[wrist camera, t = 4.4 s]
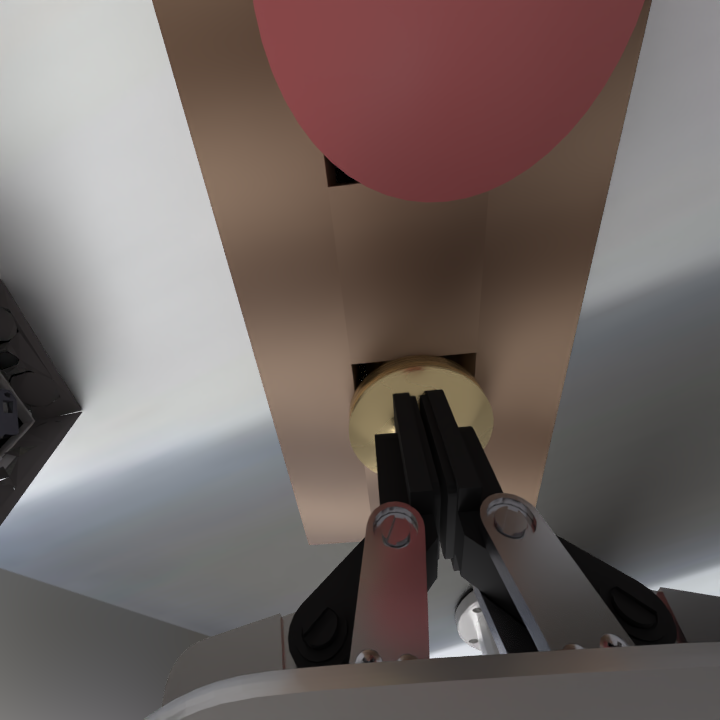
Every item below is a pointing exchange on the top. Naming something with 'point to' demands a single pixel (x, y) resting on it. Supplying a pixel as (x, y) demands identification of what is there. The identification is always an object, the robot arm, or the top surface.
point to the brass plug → (416, 377)
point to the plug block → (387, 265)
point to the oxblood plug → (441, 83)
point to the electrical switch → (28, 406)
